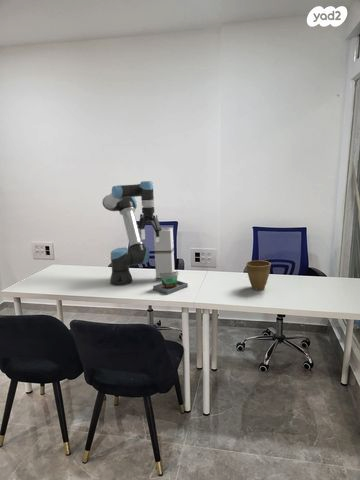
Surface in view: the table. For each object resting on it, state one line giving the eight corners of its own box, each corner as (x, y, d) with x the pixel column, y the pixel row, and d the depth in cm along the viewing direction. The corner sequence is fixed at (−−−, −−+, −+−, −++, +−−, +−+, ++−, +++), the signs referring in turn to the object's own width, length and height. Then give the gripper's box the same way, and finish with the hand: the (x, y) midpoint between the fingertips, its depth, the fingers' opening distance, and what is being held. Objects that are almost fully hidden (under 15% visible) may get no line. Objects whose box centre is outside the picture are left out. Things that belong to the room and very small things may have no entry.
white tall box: (174, 275, 245) (172, 227, 238) (172, 280, 235) (170, 230, 228) (159, 275, 247) (156, 228, 240) (156, 280, 237) (153, 230, 230)
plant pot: (275, 287, 214) (275, 262, 211) (261, 293, 204) (261, 268, 201) (255, 282, 225) (255, 258, 222) (241, 288, 215) (241, 263, 212)
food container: (162, 290, 215) (161, 275, 213) (160, 287, 221) (159, 272, 219) (181, 287, 218) (180, 272, 216) (178, 284, 224) (178, 270, 222)
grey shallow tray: (153, 289, 219) (152, 286, 219) (173, 282, 231) (173, 279, 230) (167, 294, 209) (167, 290, 209) (187, 287, 221) (187, 283, 221)
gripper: (130, 206, 216) (133, 239, 220) (156, 208, 198) (158, 244, 203) (140, 205, 221) (142, 237, 225) (166, 207, 203) (167, 242, 208)
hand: (150, 240), depth 214 cm, fingers open, 13 cm apart
